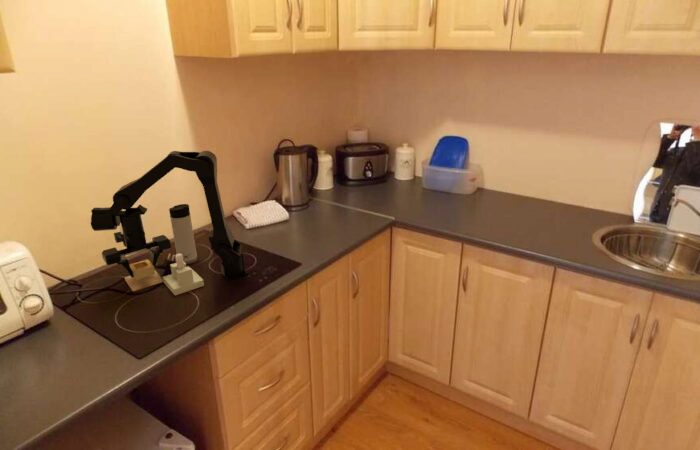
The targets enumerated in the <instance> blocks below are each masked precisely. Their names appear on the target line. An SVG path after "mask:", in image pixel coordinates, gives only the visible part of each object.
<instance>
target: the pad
mask: <svg viewBox="0 0 700 450" xmlns="http://www.w3.org/2000/svg"><path fill="white" fill-rule="evenodd" d="M155 274H156V275H152V276H149V277H146V278H142V279H139V280H136V281H135V280H134V278H131V276H130V275H128V276H125V277H123V278H124V280H125V282H126V283H127V285H128V287H129V288H130V289H131V291H132V292H136V291H139V290H142V289H146V288H148V287H152V286H154V285H158V284H161V283H164V281H163V277H162V276H160V274H159V272H157V270H155Z"/></svg>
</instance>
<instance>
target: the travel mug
mask: <svg viewBox="0 0 700 450" xmlns="http://www.w3.org/2000/svg"><path fill="white" fill-rule="evenodd" d="M168 211H169V217H170V224H171V229H172V235H173V239H174V246H175V247H174V248H175V250H176V254H182V256H183V261H184V262H185V263H186V265H189V264H193V263H195V262H197V260H198V255H197V248H196V241H195V237H194V236H195V235H194V230H193V223H192V217H191V213H190V205H189V204H188V203H181V204H177V205H174V206H172V207H170V208H169V209H168Z"/></svg>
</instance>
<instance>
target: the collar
mask: <svg viewBox="0 0 700 450" xmlns="http://www.w3.org/2000/svg"><path fill="white" fill-rule="evenodd" d="M129 265H130V268H131V271H132V274H133V278H134V280H135V281H136V280H139V279H142V278H146V277H149V276H152V275H156V274H155V271H156V268H155V269H154V266H153V264H152V263H151V262H150V259H149V258H148V259H143V260H140V261H137V262H132V263H129Z"/></svg>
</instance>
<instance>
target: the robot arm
mask: <svg viewBox="0 0 700 450" xmlns="http://www.w3.org/2000/svg"><path fill="white" fill-rule="evenodd" d="M175 168H176V169H181V170H185V171H187V172H195V174H196V177H197V178H198V180H199V182H200V183H201V185H202V187H203V192H204V196H205V199H206V203H207V204H206V205H207V207H208V213H209V217H210V220H211V225H212V229H211V230H210V233H209V236H208V240H209V243H210V250H211V251H212V250H213V252H214V254H215V255H216V256H218V257H219V258H220V259H221V261H220V265H219V266H220V273H221V275H222V276H223V277H224V278H226V279H227V280H228V281H231V280H234V279H237V278H241V277H242V276H243V277H244V276H247V275H248V271H247V270H246V268H245V258H244V254H242V248H243V247H242V246H243V244H242V243H241V242H239V241H238V240H236V239H235V237H234V235H233V232H232V229H230V227H229V225H228V224H227V220H226V215H225V212H224V208H223V202H222V198H221V193H220V190H219V185H218V179H217V178H218V159H217V156H216V154H215V153H213V152H212V151H210V150H202V151H201V152H198V151H178V150H173V151H170V152H169V153H168V154H167V156H165V157H164V158H163V159H161V160H160V161H159V162H158V163H156V164H155V165H154V166H153V167H151V168H150V169H149V170H147V171H146V172H145V173H144V174H143V175H142V176H140V177H139V178H137V179H134V180H132V181H130V182H128V183H127V184H124V185H122V186H121V187H120V188H119V189H118V190H117V191H116V192H114V194H113V196H112V202H113V203H112V205H111V206H110V207H93V208H92V209H91V210H90V212H91V216H90V226H91V229H92V230H93V231H94V232H99V231H101V232H102V231H112V230H114V231H115V230H117V229H118V227H119V226H120V225H121V226H120V227H121V230H122V232H121V231H118V232H113V237H114V240H115V243H117V244H118V243H122V244H123V247H125V248H124V249H119V250H118V249H117V247H112V248H108V249H104V250H102V251H101V257H102V260H103V261H104V262H105V264H106V265H107V266H111V265H115V264H117V266H120V265H121V266H123V268H124V269H125V270H126V272H127V273H128V276H131V278H133V274H132V271H131V268H130V265H129V264H130V263H129V260H128V259H127V258H126V256H128V255H132V254H135V253H140V252H143V251H148V252H149V261H150V262H151V263H152V264H153V266H154V269H155V270H156V266H157V263H158V260H159V258H160V255H161V254H163V253H164V250H165V251H166V250H168V249H171V248H172V243H171V240H170V238H168V237H167V236H166V235H165V234H162V235H157V236H153V237H152V240H151V241H149V242H147V239H146V233H145V229H144V226H143V218H142V215H145V214H146V213H147V212H148V208H146V207H144V206H143V205H142V204H139V205H137V207H133V206H134V205H135V204H136V203H137V202H138V200H139V199H140V198H141V197H142V195H144V193H145V192H146V191H148V189H150V188H151V187H152V186H154V185H155V184H156V183H157V182H159V181H160V180H161V179H162V178H164V177H165V176H166V175H167V174H169V173H170V172H171V171H173V170H174V169H175Z"/></svg>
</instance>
